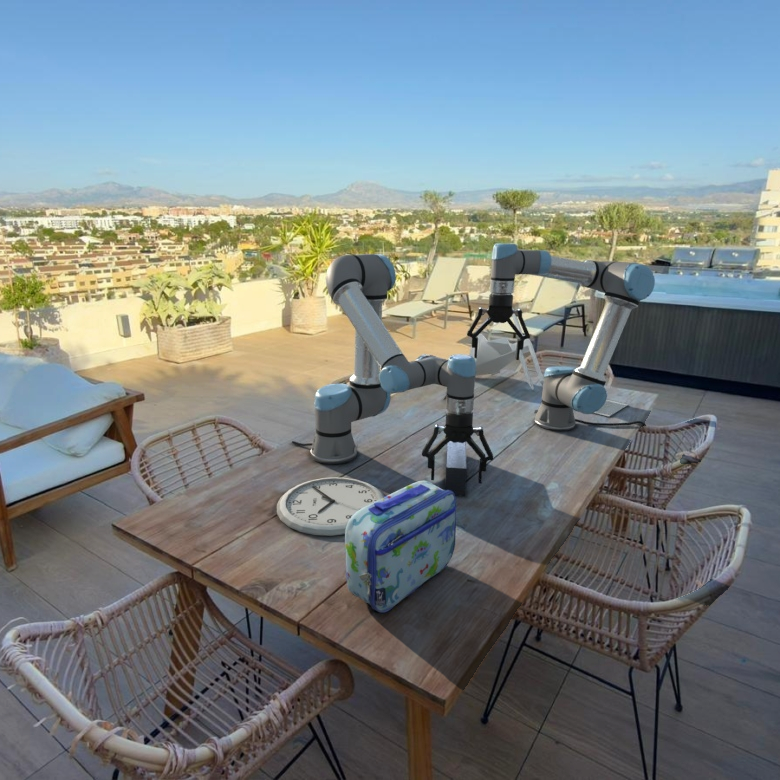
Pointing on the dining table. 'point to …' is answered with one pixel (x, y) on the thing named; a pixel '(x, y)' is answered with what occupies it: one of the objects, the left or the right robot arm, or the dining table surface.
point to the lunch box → (399, 543)
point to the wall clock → (325, 504)
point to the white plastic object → (503, 355)
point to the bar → (456, 468)
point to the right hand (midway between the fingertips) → (496, 358)
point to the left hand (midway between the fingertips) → (456, 479)
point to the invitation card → (610, 408)
